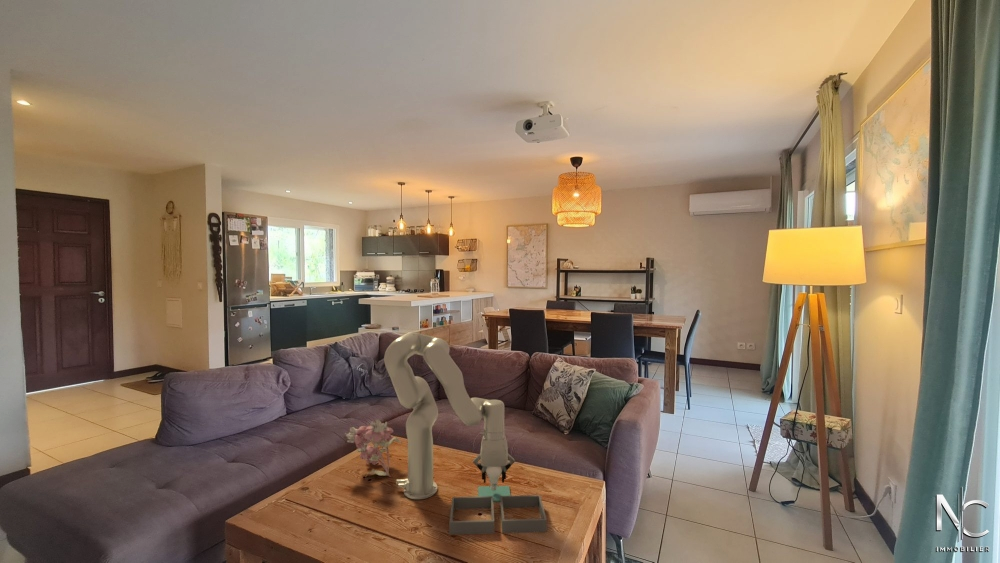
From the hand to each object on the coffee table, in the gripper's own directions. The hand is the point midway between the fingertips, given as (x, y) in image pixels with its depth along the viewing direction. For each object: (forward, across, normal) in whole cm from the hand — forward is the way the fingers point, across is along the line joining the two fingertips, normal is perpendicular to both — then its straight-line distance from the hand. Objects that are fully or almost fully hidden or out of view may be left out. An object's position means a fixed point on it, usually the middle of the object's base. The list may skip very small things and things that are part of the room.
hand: (493, 480), depth 155 cm
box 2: (+5, +9, -15) cm, 18 cm away
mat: (+6, 0, 0) cm, 6 cm away
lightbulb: (+4, 0, 0) cm, 4 cm away
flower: (+6, -50, +22) cm, 55 cm away
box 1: (+6, -8, -15) cm, 18 cm away
